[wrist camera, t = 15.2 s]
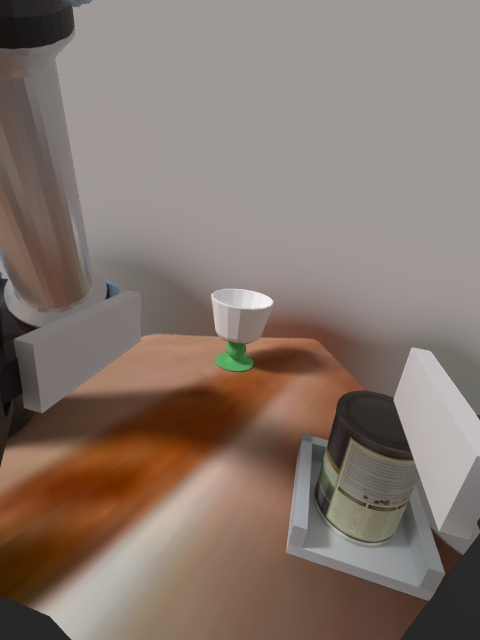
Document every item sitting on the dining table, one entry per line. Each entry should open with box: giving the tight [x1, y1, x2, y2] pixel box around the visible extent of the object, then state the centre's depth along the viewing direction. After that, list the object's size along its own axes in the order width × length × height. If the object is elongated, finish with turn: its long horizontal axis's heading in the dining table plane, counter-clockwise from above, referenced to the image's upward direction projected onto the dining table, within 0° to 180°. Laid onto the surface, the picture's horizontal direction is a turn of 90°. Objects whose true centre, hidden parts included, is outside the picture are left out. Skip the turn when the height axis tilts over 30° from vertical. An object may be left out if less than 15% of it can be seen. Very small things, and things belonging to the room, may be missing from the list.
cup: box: [211, 289, 274, 372], centre depth 72 cm, size 14×14×16 cm
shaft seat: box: [286, 434, 445, 601], centre depth 44 cm, size 24×15×7 cm, turn 166°
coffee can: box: [314, 391, 419, 547], centre depth 38 cm, size 10×10×14 cm
